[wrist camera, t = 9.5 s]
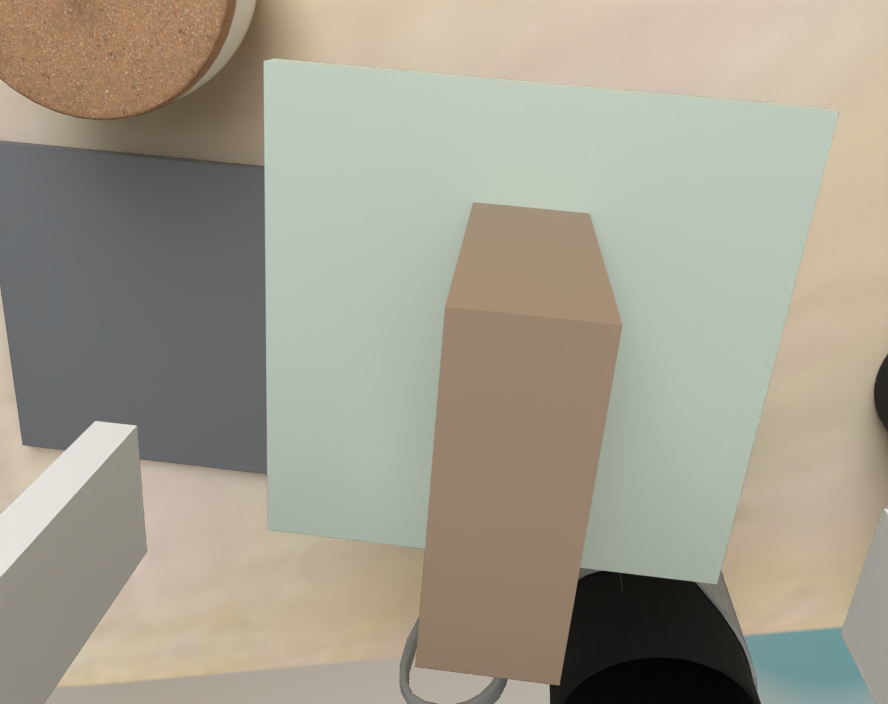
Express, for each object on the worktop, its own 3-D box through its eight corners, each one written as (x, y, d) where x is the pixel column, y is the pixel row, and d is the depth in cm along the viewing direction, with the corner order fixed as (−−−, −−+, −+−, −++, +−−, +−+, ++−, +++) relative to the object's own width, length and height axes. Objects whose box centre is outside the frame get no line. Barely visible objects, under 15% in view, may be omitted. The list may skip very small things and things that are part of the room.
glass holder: (705, 566, 44) (785, 822, 30) (442, 581, 46) (404, 828, 32) (700, 420, 41) (788, 633, 27) (417, 443, 43) (365, 652, 29)
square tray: (28, 439, 45) (22, 445, 44) (-13, 139, 38) (-21, 141, 38) (319, 473, 44) (316, 480, 43) (325, 172, 38) (322, 175, 37)
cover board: (276, 511, 27) (165, 736, 19) (274, 58, 21) (116, 94, 13) (710, 563, 26) (795, 822, 18) (825, 107, 21) (1023, 177, 12)
